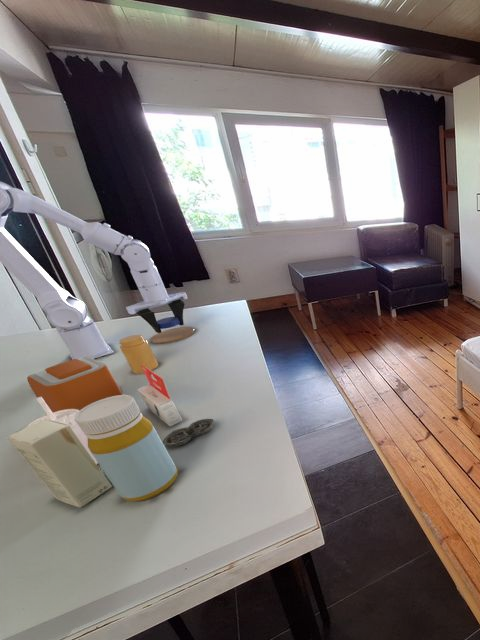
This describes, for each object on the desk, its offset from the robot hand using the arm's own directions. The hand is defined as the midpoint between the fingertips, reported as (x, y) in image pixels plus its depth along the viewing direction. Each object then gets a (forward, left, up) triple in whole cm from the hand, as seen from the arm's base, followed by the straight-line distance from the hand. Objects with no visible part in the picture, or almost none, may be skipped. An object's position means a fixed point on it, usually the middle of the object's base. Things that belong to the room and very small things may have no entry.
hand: (170, 328), depth 110 cm
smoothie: (+54, -27, -3) cm, 60 cm away
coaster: (0, 0, -2) cm, 2 cm away
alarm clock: (+40, -23, -3) cm, 46 cm away
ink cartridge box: (+48, -14, -3) cm, 50 cm away
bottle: (+69, -21, -3) cm, 72 cm away
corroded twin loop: (+60, -13, -2) cm, 61 cm away
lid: (0, 0, +2) cm, 2 cm away
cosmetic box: (+62, -28, -3) cm, 68 cm away
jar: (+19, -11, -2) cm, 22 cm away
